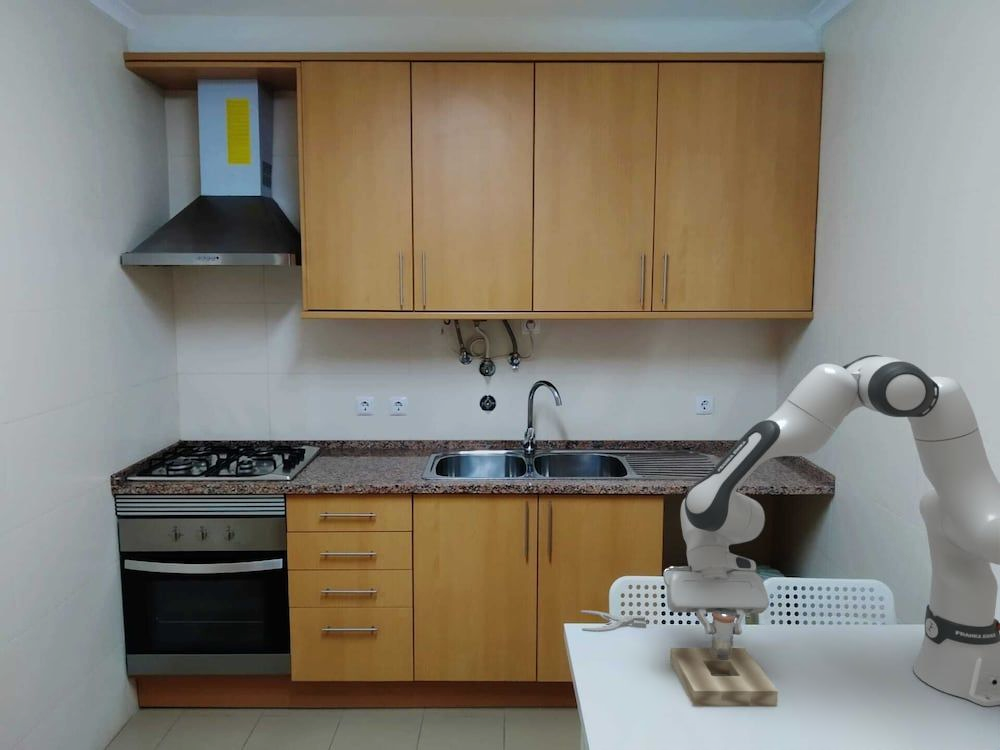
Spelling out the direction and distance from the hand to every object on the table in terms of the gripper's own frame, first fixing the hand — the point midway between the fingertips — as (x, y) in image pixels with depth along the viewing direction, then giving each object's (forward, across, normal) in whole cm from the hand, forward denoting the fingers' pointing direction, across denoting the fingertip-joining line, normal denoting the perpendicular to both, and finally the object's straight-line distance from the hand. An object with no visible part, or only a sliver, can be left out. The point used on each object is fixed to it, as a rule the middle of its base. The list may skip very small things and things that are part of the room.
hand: (724, 633), depth 137 cm
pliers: (-10, -16, +26) cm, 32 cm away
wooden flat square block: (+7, 0, +8) cm, 11 cm away
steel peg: (+3, 0, +4) cm, 5 cm away
